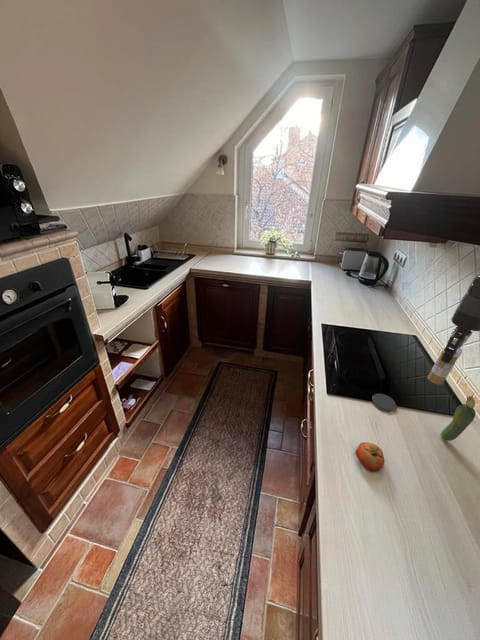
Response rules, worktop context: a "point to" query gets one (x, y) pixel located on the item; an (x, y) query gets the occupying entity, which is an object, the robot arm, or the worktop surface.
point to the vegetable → (460, 420)
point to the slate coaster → (384, 402)
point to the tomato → (370, 456)
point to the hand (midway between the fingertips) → (447, 358)
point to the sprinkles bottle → (442, 368)
